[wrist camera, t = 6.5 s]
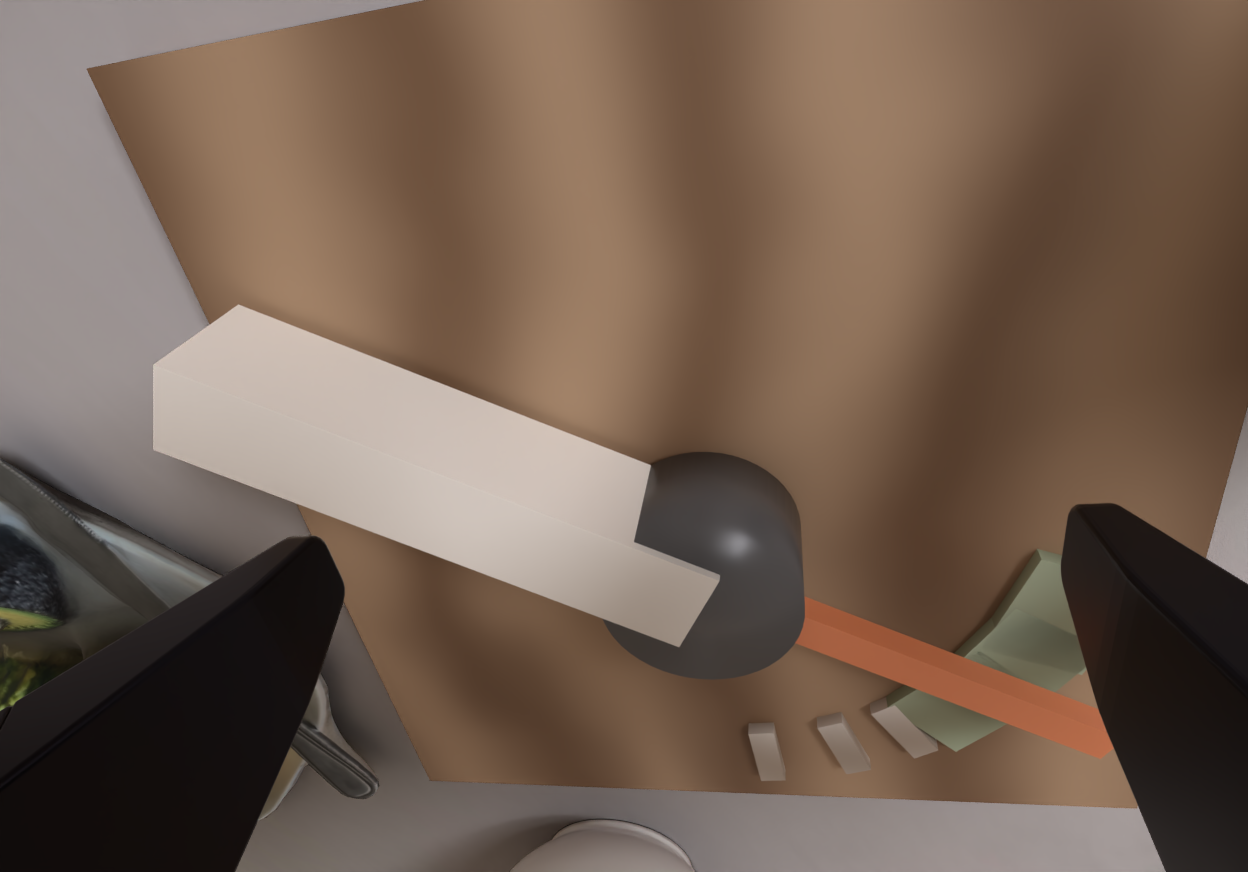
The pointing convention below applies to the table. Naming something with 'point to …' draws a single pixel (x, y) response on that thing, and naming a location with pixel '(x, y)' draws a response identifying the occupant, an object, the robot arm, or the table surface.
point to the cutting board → (751, 330)
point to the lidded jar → (606, 850)
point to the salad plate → (116, 611)
